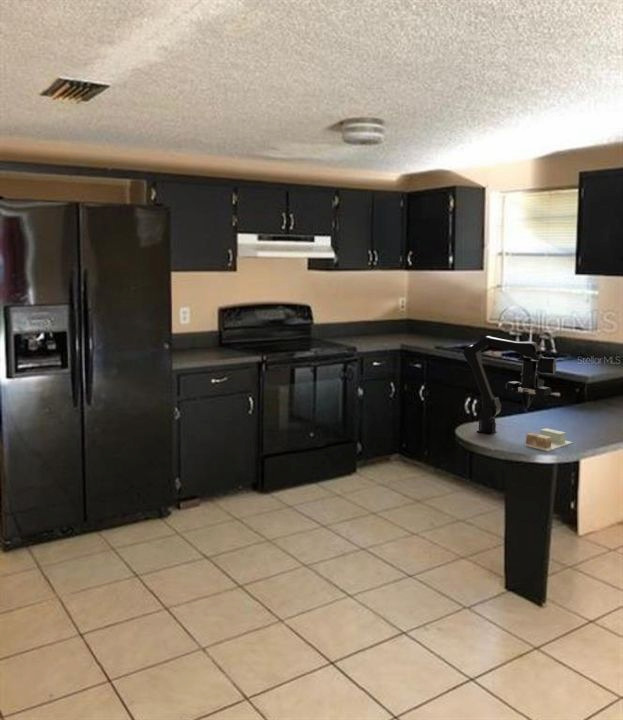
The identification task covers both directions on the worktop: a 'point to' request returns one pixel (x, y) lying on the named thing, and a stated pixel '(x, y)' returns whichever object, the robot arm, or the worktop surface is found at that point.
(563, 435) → the sage block
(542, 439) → the oak block
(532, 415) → the worktop surface
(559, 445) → the mat
